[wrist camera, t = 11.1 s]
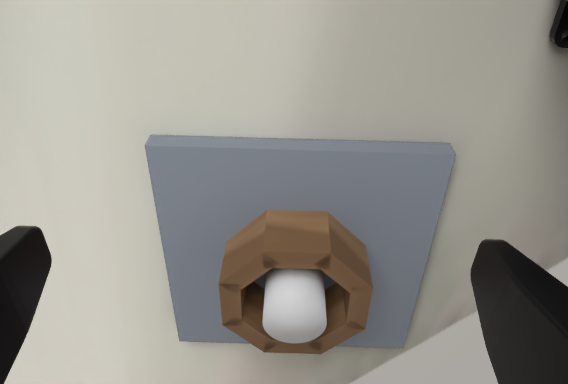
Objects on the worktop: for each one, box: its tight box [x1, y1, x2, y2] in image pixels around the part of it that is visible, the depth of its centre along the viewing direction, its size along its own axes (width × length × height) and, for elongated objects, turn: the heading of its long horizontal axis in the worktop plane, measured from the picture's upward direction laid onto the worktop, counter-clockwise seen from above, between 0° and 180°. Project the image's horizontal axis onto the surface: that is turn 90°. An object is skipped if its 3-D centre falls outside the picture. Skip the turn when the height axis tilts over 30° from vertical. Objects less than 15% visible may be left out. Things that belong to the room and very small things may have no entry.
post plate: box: [145, 135, 456, 348], centre depth 24 cm, size 14×14×5 cm
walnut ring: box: [219, 210, 373, 354], centre depth 24 cm, size 7×7×3 cm
